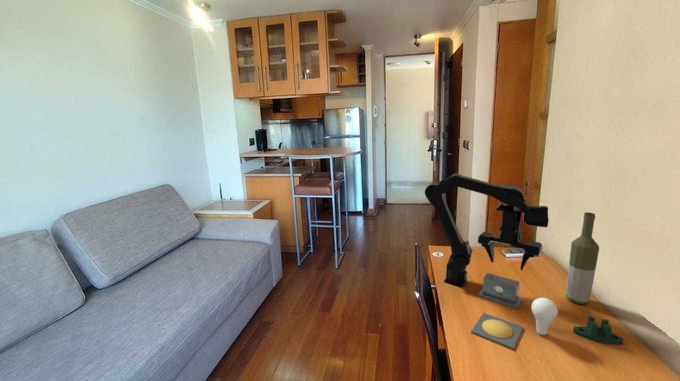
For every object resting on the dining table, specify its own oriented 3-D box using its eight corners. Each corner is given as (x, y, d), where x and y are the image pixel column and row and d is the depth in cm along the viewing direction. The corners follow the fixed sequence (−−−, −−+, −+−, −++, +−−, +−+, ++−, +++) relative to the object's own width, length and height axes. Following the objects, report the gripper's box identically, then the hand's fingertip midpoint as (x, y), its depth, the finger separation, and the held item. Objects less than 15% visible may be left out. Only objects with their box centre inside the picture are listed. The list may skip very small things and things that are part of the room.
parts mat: (471, 332, 90) (471, 330, 90) (483, 314, 98) (483, 312, 98) (513, 350, 83) (513, 347, 83) (522, 328, 91) (523, 326, 91)
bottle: (595, 307, 99) (609, 217, 92) (570, 305, 101) (582, 216, 94) (583, 295, 106) (596, 210, 99) (560, 293, 107) (571, 210, 101)
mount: (574, 336, 87) (576, 321, 86) (571, 327, 91) (573, 312, 90) (625, 348, 82) (628, 332, 81) (620, 338, 86) (623, 322, 85)
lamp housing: (478, 296, 108) (479, 277, 106) (484, 288, 112) (485, 270, 110) (517, 308, 100) (519, 289, 98) (521, 300, 104) (523, 281, 103)
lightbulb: (558, 342, 85) (563, 306, 82) (533, 340, 86) (537, 305, 83) (548, 328, 91) (552, 294, 88) (525, 326, 92) (529, 292, 89)
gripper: (547, 222, 104) (542, 264, 108) (488, 212, 117) (485, 251, 120) (541, 231, 96) (536, 277, 100) (478, 220, 108) (475, 262, 112)
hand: (506, 266), depth 108 cm, fingers open, 9 cm apart
